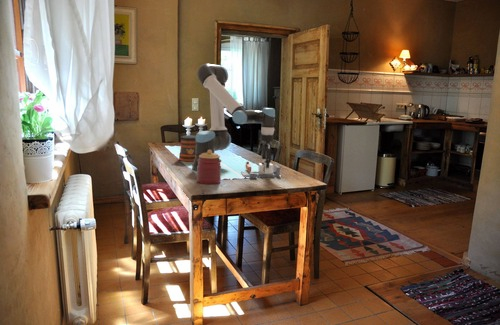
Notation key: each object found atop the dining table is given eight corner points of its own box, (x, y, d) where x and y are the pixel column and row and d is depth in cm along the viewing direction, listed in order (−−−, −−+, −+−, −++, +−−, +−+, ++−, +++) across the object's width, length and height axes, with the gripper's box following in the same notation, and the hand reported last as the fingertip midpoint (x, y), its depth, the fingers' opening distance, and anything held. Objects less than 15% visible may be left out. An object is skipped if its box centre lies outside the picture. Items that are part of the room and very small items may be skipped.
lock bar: (248, 171, 234) (248, 165, 234) (245, 167, 246) (245, 161, 245) (251, 171, 235) (251, 165, 234) (248, 167, 246) (248, 161, 246)
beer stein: (203, 157, 279) (204, 130, 275) (208, 161, 265) (209, 132, 262) (177, 158, 273) (178, 130, 269) (180, 162, 259) (181, 132, 255)
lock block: (259, 174, 230) (260, 163, 229) (258, 172, 235) (258, 161, 234) (272, 175, 231) (273, 163, 230) (270, 173, 237) (271, 162, 235)
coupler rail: (244, 178, 221) (245, 169, 220) (241, 172, 236) (241, 163, 235) (281, 179, 224) (282, 169, 223) (276, 173, 239) (276, 164, 238)
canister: (222, 184, 204) (223, 151, 201) (197, 184, 202) (198, 151, 198) (218, 178, 217) (220, 148, 214) (195, 178, 214) (196, 147, 211)
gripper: (277, 136, 219) (275, 175, 223) (269, 132, 240) (267, 167, 244) (264, 136, 218) (262, 175, 222) (258, 131, 239) (256, 167, 243)
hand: (265, 171), depth 233 cm, fingers open, 9 cm apart
